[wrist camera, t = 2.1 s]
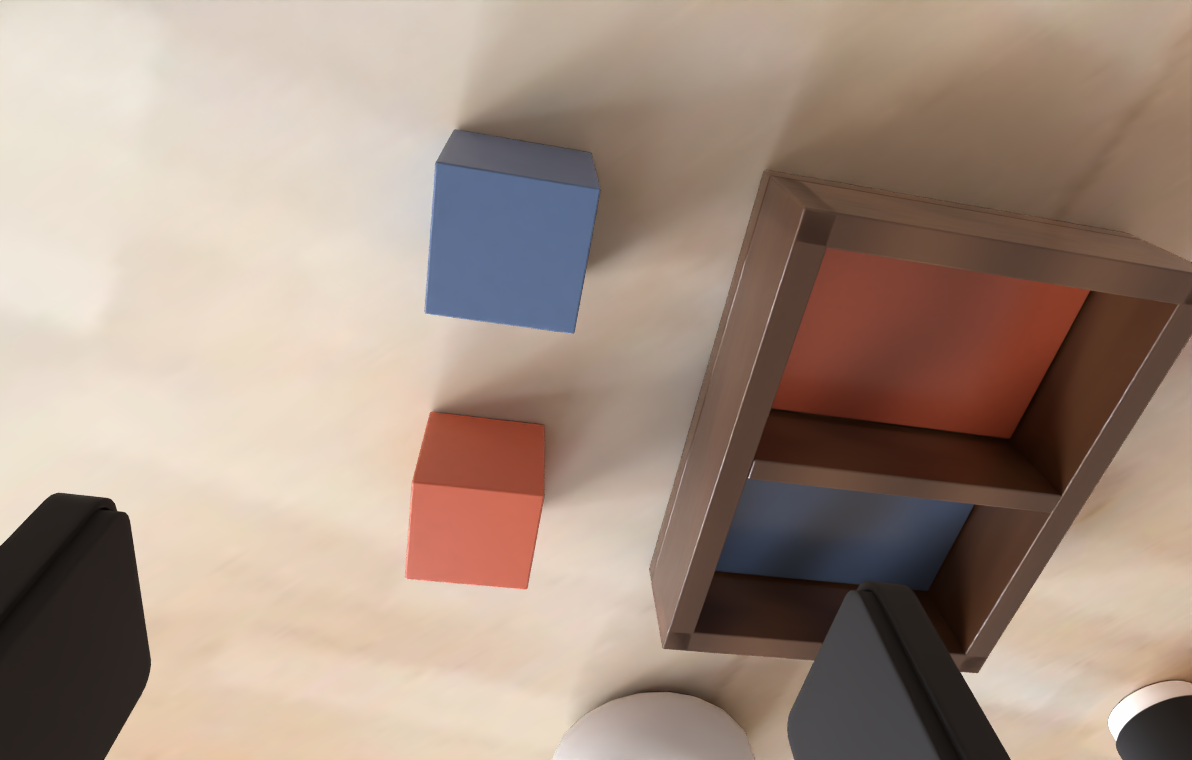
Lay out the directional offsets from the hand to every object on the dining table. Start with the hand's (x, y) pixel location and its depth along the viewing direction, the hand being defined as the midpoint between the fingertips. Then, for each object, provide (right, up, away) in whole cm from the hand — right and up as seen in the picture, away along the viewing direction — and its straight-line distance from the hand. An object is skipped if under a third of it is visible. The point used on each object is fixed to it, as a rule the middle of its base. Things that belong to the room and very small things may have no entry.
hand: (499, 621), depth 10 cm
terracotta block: (-3, 0, +18) cm, 18 cm away
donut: (+4, -15, +27) cm, 31 cm away
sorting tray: (+11, +2, +18) cm, 22 cm away
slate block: (-1, +9, +13) cm, 16 cm away
